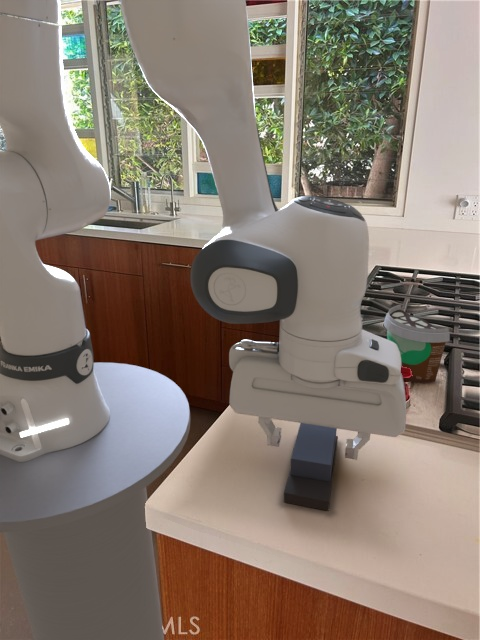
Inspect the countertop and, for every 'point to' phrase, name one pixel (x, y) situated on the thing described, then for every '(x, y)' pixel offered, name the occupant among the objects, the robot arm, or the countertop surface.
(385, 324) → the food container
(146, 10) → the robot arm
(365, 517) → the countertop surface
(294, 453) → the stepped blue block
